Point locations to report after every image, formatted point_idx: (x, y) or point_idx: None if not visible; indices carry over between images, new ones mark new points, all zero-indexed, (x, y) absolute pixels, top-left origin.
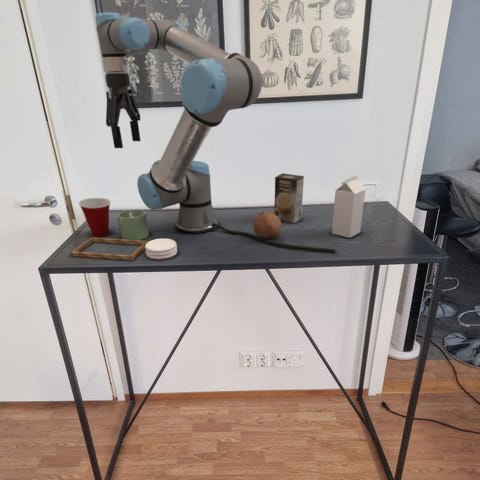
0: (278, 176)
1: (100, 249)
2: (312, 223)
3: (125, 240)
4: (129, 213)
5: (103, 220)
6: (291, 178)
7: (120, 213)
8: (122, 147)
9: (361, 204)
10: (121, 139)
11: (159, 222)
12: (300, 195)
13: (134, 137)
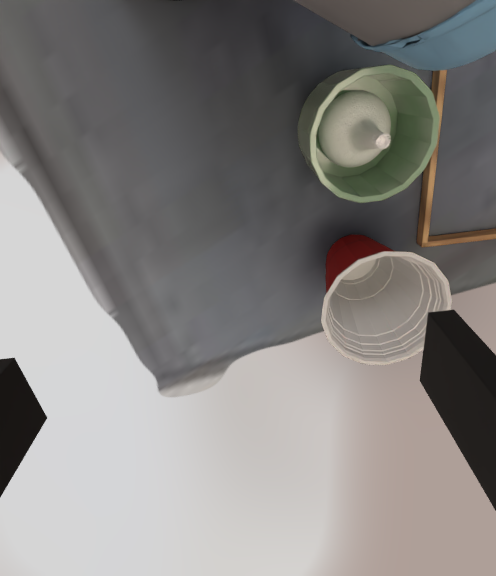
0: None
1: (486, 175)
2: None
3: (441, 113)
4: (389, 142)
5: (388, 248)
6: None
7: (372, 195)
8: (442, 314)
9: None
10: (479, 370)
11: (184, 117)
12: None
13: (16, 429)
